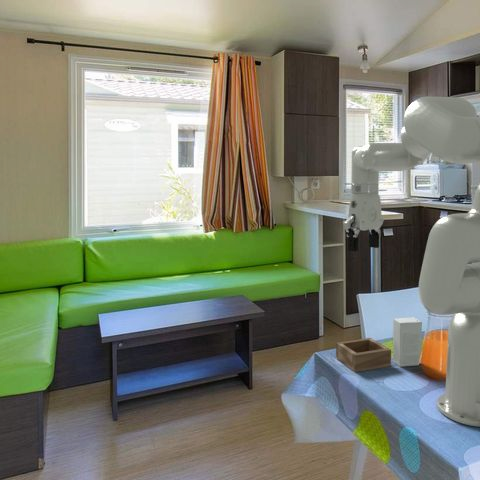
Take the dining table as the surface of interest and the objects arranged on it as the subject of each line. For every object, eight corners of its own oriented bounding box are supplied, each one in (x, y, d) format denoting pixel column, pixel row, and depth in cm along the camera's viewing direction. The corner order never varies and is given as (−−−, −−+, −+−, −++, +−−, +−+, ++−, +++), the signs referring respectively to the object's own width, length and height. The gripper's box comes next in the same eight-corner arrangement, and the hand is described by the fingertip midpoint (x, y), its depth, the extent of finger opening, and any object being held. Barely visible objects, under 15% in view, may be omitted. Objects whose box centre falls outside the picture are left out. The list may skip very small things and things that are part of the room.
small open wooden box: (390, 366, 115) (391, 349, 114) (354, 372, 111) (355, 355, 111) (369, 353, 124) (370, 337, 123) (335, 358, 120) (336, 342, 120)
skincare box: (412, 359, 119) (414, 316, 117) (421, 365, 115) (422, 321, 113) (391, 360, 118) (393, 318, 117) (399, 367, 114) (400, 323, 112)
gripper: (356, 190, 116) (355, 253, 119) (393, 189, 127) (392, 247, 129) (334, 190, 122) (334, 250, 125) (372, 189, 133) (371, 244, 135)
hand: (363, 249), depth 127 cm, fingers open, 9 cm apart
